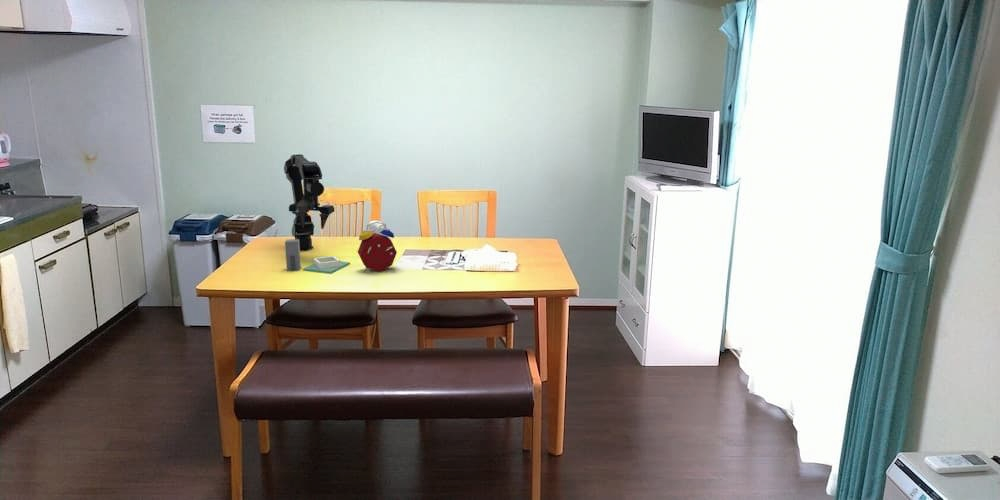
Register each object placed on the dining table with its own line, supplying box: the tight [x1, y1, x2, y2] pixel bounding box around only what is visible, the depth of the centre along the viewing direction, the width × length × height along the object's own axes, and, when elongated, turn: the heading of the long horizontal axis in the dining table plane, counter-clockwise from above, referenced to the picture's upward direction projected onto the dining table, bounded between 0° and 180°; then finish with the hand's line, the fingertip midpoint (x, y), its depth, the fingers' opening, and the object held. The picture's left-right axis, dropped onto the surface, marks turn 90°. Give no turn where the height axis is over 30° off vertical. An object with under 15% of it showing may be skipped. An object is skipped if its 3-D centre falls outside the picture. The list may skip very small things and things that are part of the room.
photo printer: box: [368, 220, 387, 236], centre depth 328 cm, size 10×4×12 cm, turn 39°
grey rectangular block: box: [284, 238, 302, 272], centre depth 292 cm, size 5×5×12 cm
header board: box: [302, 255, 351, 274], centre depth 297 cm, size 13×15×3 cm
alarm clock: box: [357, 222, 398, 273], centre depth 291 cm, size 15×9×20 cm, turn 111°
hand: (312, 228), depth 309 cm, fingers open, 9 cm apart
